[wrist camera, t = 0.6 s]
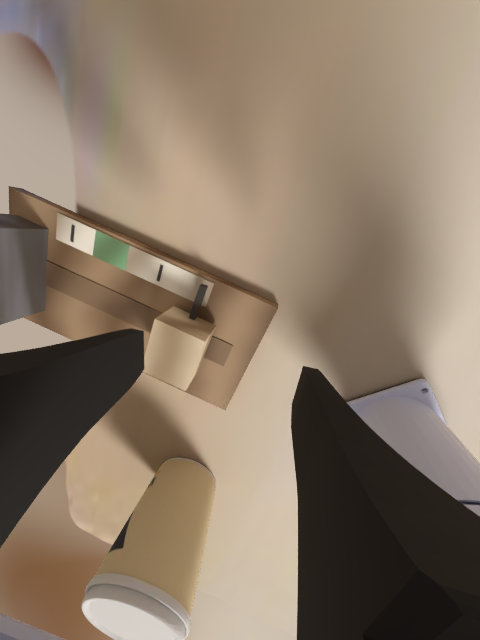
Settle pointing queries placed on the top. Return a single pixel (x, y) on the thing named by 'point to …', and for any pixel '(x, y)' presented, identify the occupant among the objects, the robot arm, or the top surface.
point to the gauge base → (119, 289)
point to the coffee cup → (155, 558)
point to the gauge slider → (178, 344)
